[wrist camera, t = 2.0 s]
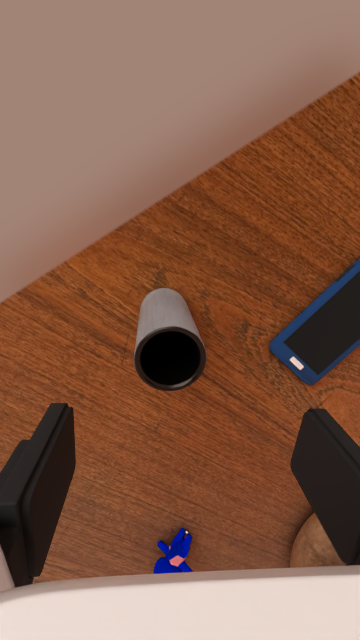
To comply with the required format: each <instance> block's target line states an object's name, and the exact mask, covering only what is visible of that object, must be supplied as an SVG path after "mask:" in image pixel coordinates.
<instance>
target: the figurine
mask: <svg viewBox="0 0 360 640" xmlns="http://www.w3.org/2000/svg"><path fill="white" fill-rule="evenodd" d="M185 532H186V534H187V536H186V538H184V535H185ZM191 540H192V536H191V535H190V534H188V531H186V530H184V529H183V528H181V529H180V531H179V533H178V534H177V535H176V536H175V538H174V539H173V541H172V543H171V544H170V547H169V546H167V545H166V544H165V543H163V542H162V541H159V542H158V547H159V548H160V549H161V550H162V551H163V552H164V553H165V554H166V557H161V558H159V559H158V560H157V562H156V564H155V567H154V574H161V573H181V572H193V571H192V570H191V568H190V567H189V566H188V565H187V564H186V562H185V561H184V560H185V558H186V557H187V555H188V552H189V549H190V543H191Z"/></svg>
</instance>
